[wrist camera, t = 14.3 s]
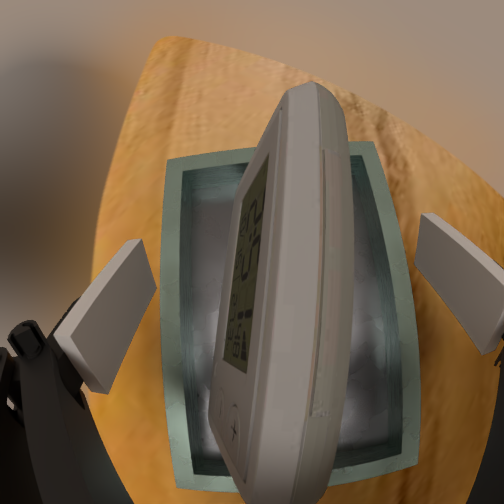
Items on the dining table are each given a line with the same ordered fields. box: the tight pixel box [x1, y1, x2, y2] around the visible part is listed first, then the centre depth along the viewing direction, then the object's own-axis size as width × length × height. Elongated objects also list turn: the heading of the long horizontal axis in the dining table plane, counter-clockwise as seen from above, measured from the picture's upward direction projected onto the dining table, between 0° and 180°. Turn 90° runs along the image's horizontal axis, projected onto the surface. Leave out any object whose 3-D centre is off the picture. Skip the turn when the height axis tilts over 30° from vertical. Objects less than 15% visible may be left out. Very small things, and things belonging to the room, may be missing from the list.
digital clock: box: [208, 81, 354, 504], centre depth 12 cm, size 16×9×11 cm, turn 163°
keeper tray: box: [160, 141, 421, 492], centre depth 17 cm, size 16×23×4 cm
